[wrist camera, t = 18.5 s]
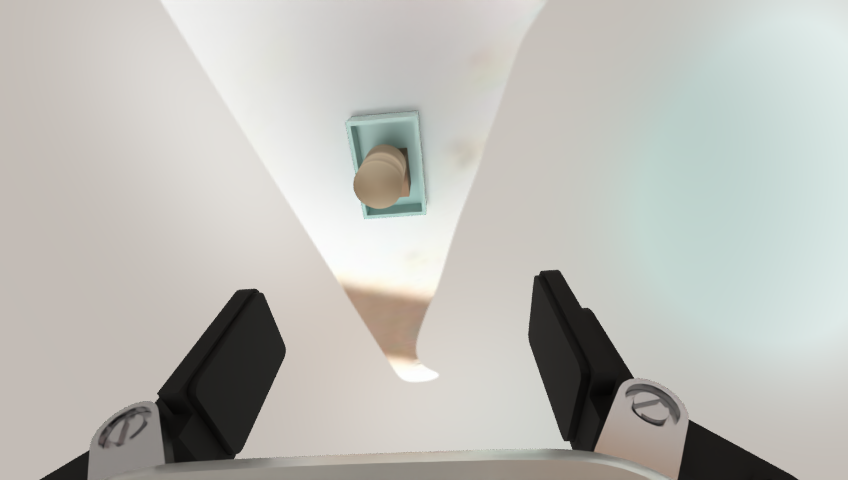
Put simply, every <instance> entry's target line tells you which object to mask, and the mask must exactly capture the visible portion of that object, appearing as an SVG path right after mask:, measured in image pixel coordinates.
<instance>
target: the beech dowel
mask: <svg viewBox="0 0 848 480" xmlns="http://www.w3.org/2000/svg"><path fill="white" fill-rule="evenodd" d="M405 169H406V161H405V158H404V156H403V154H402V153H401V152H400V150H398V149H397V148H396V147H394V146H392V145H388V144H381V145H377V146H375V147H373V148H372V149H371V150H370V151H369V152H368V154H367V156H366V157H365V159H364V161H363V163H362V165H361V166H360V168H359V170H358V172H357V173H356V175H355V178H354V191H355V193H356V195H357V197H358V198H359V200H360V201H361V202H362V203H364V204H365V205H367V206H369V207H371V208H375V209H383V208H387V207H390V206H392V205H393V204H394V203H396V202H397V200H398V199H399V197H400V195H401V192H402V186H403V181H404V175H405Z"/></svg>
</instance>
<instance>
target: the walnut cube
mask: <svg viewBox="0 0 848 480" xmlns="http://www.w3.org/2000/svg"><path fill="white" fill-rule="evenodd" d="M397 149H398V150H400V152H401V153H402V154H403V156H404V158H405V161H406V169H405V175H404V181H403V186H402V192H401V195H400V197H409V195H410V187H411V178H410V169H409V159H408V150H407V148H397Z"/></svg>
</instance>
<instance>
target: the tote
mask: <svg viewBox="0 0 848 480" xmlns="http://www.w3.org/2000/svg"><path fill="white" fill-rule="evenodd" d="M345 123H346V128H347V133H348V138H349V143H350V149H351V154H352V159H353V164H354V169H355V174H356V173H357V172H358V170H359V168H360V166H361V165H362V163H363V161H364V159H365V157H366V156H367V154H368V152H369V151H370V150H371V149H372V148H373V147H375V146H377V145H381V144H388V145H392V146H394V147H396V148H407V150H408V159H409V169H410V178H411V187H410V195H409V197H399V199H398V200H397V202H396V203H394V204H393V205H392V206H390V207H387V208H383V209H375V208H371V207H369V206H367V205H365V204H364V203H362V202H361V205H362V210H363V215H364V219H372V218H386V217H399V216H413V215H426V195H425V184H424V173H423V162H422V151H421V140H420V128H419V117H418V111H410V112H399V113H388V114H377V115H366V116H354V117H351V118H350V119H348V120H347V121H346V122H345Z"/></svg>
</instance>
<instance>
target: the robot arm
mask: <svg viewBox="0 0 848 480" xmlns="http://www.w3.org/2000/svg"><path fill="white" fill-rule="evenodd" d="M528 336H529V343H530V346H531V349H532V352H533V355H534V357H535V360H536V363H537V366H538V369H539V372H540V375H541V378H542V380H543V383H544V387H545V389H546V392H547V395H548V398H549V401H550V404H551V406H552V410H553V412H554V415H555V418H556V421H557V424H558V427H559V430H560V433H561V435H562V438H563V439H564V441H570V444H571V447H572V449H573V450H564V449H505V450H469V451H468V450H466V451H435V452H406V453H405V452H404V453H379V454H350V455H326V456H325V455H324V456H299V457H276V458H253V459H234V458H235V456H236V454H238V453H240V452H241V450H242V449H243V447H244V445H245V443H246V440H247V438H248V436H249V433H250V432H251V429H252V427H253V425H254V423H255V421H256V418H257V416H258V414H259V412H260V410H261V407H262V405H263V403H264V401H265V399H266V396H267V394H268V392H269V390H270V388H271V385H272V383H273V381H274V379H275V377H276V374H277V372H278V370H279V368H280V366H281V364H282V361H283V359H284V357H285V353H286V348H285V344H284V342H283V339H282V337H281V335H280V332H279V330H278V327H277V325H276V323H275V320H274V318H273V316H272V313H271V311H270V308H269V306H268V303H267V301H266V299H265V296H264V294H263V293H259V291H258V290H257V289H244V290H238V291H236V292H235V294H234V295H233V296H232V297H231V299H230V300H229V301H228V303H227V304H226V305H225V306H224V308H223V309H222V311H221V312H220V313H219V314H218V316H217V317H216V318H215V319H214V321H213V322H212V323H211V325H210V326H209V327H208V328H207V330H206V331H205V332H204V334H203V335H202V336H201V338H200V339H199V340H198V341H197V343H196V344H195V345H194V346H193V348H192V349H191V350H190V352H189V353H188V354H187V356H186V357H185V358H184V359H183V361H182V362H181V363H180V365H179V366H178V367H177V369H176V370H175V371H174V372H173V374H172V375H171V376H170V378H169V379H168V380H167V382H166V383H165V384H164V385H163V387H162V388H161V389H160V390H159V392H158V393H157V394H158V395H159V399H158V400H157V401H156V402H155V403H153V402H150V401H143V402H139V403H135V404H132V405H130V406H128V407H125V408H124V409H122V410H120V411H119V412H117V413H115V414H114V415H113V416H112V417H110V418H109V419H108V420H107V421H105V422H104V424H103V425H102V426H101V427H100V428H99V429H98V430H97V432H96V433H95V435H94V436H93V438H92V441H91V444H90V450H89V451H87V452H86V453H84V454H82V455H81V456H79V457H77V458H76V459H74V460H72V461H71V462H69V463H67V464H65V465H64V466H62V467H60V468H59V469H57V470H55V471H54V472H52V473H50V474H49V475H47V476H45V477H44V478H42V479H40V480H798V479H797V478H795V477H794V476H792V475H790V474H789V473H787V472H785V471H783V470H781V469H779V468H777V467H776V466H774V465H772V464H770V463H768V462H767V461H765V460H763V459H761V458H759V457H757V456H755V455H753V454H752V453H750V452H748V451H746V450H744V449H743V448H740V447H739V446H737V445H735V444H733V443H731V442H729V441H728V440H726V439H724V438H722V437H720V436H718V435H717V434H715V433H713V432H711V431H709V430H707V429H706V428H704V427H702V426H700V425H698V424H696V423H694V422H693V421H691V420H689V419H688V412H687V410H686V408H685V406H684V404H683V403H682V401H681V400H680V399H679V398H678V397H677V396H676V395H675V394H674V393H673V392H671V391H670V390H669V389H668V388H666V387H664V386H662V385H660V384H659V383H656V382H653V381H650V380H647V379H640V378H636V379H634V377H633V376H632V374H631V373H630V371H629V369H628V368H627V366H626V364H625V363H624V361H623V360H622V358H621V356H620V355H619V353H618V352H617V350H616V348H615V347H614V345H613V344H612V342H611V341H610V339H609V338H608V336H607V334H606V332H605V331H604V329H603V328H602V326H601V325H600V323H599V321H598V320H597V318H596V316H595V315H594V313H593V312H592V311H591V310H590V309H589V308H581V306H580V305H579V303H578V301H577V299H576V297H575V296H574V294H573V292H572V291H571V289H570V287H569V286H568V284H567V282H566V280H565V279H564V277H563V275H562V274H561V272H560V271H559V270H548V271H541V272H540V274H539V275H538V276H535V277H534V285H533V293H532V303H531V313H530V322H529V333H528Z"/></svg>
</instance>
